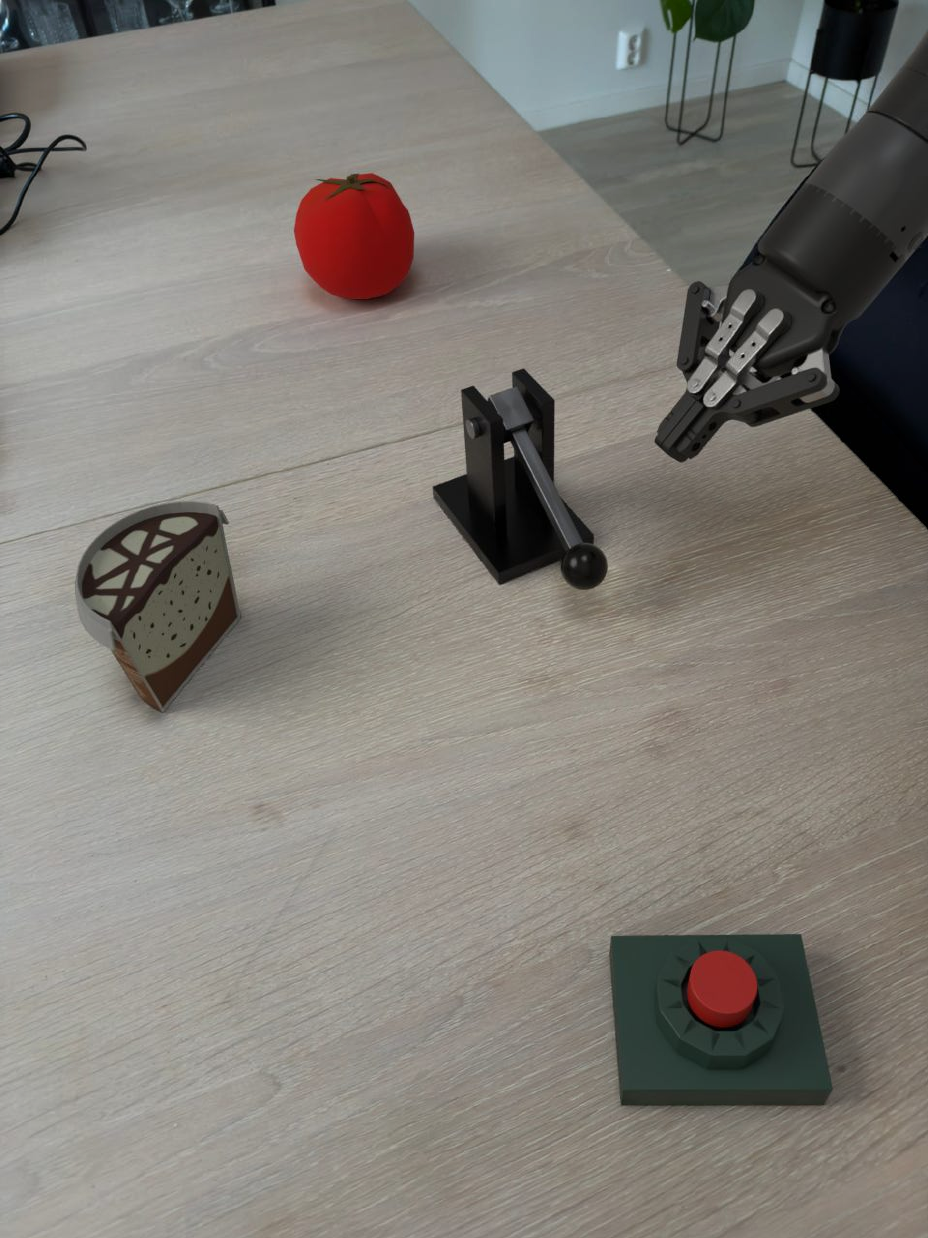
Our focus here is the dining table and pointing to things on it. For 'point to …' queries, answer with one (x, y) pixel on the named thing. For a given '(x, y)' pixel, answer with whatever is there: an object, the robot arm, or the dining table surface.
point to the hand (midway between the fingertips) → (668, 452)
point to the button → (721, 989)
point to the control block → (704, 1054)
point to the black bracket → (505, 488)
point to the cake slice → (159, 594)
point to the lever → (549, 494)
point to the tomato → (355, 236)
